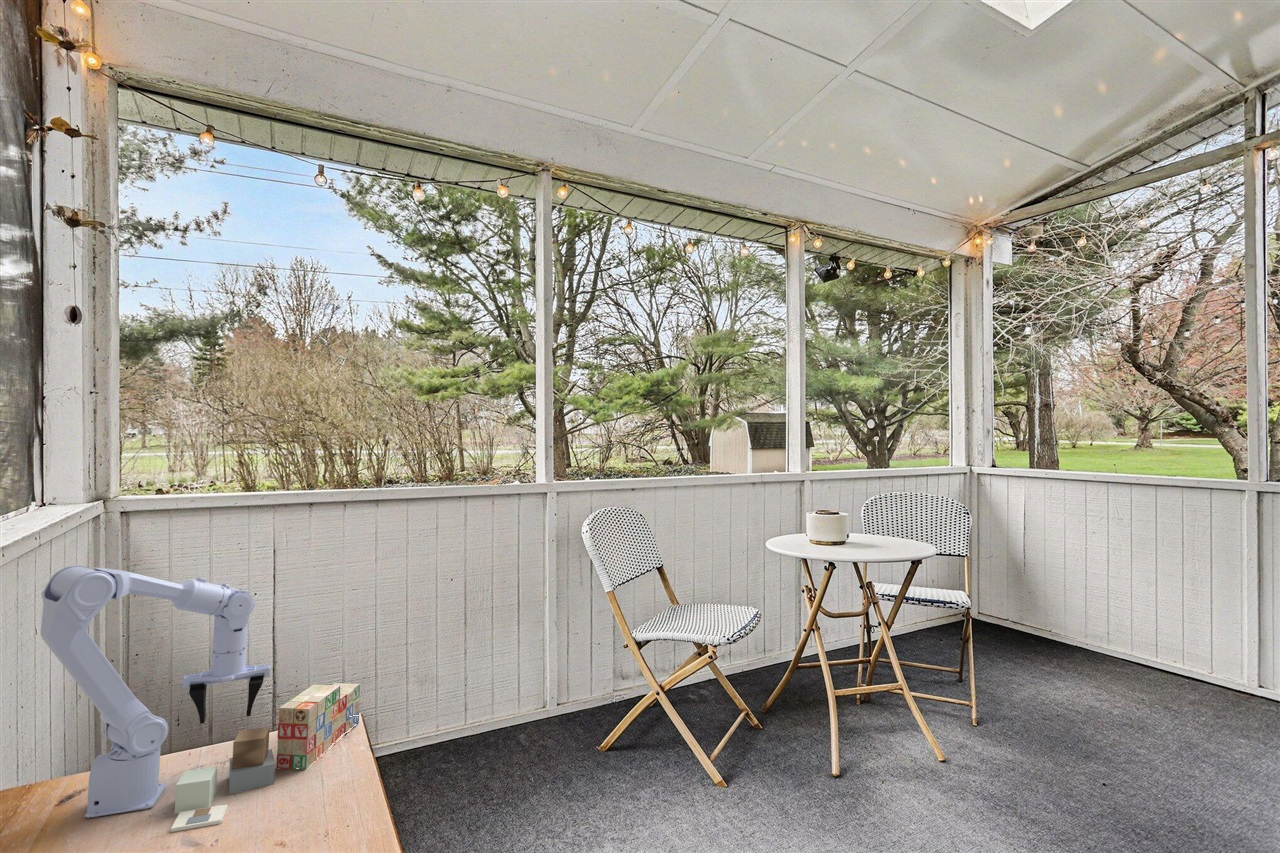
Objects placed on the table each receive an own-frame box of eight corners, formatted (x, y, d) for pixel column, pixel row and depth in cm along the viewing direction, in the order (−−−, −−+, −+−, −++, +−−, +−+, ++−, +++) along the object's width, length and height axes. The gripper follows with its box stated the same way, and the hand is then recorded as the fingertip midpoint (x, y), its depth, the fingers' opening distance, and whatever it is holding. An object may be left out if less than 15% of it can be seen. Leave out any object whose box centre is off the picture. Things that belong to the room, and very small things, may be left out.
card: (170, 832, 102) (170, 827, 102) (179, 815, 107) (180, 811, 107) (220, 823, 105) (220, 819, 105) (227, 807, 110) (227, 803, 110)
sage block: (174, 814, 108) (176, 784, 108) (183, 799, 112) (184, 770, 112) (208, 808, 109) (210, 779, 110) (215, 794, 114) (217, 766, 114)
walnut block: (232, 769, 116) (233, 742, 116) (238, 756, 120) (240, 730, 120) (262, 765, 117) (264, 738, 118) (268, 752, 122) (269, 727, 122)
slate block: (229, 796, 114) (230, 773, 114) (228, 779, 120) (230, 757, 120) (273, 785, 118) (274, 763, 118) (271, 769, 124) (272, 748, 124)
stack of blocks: (333, 722, 145) (335, 669, 145) (359, 724, 144) (361, 670, 145) (275, 769, 123) (278, 706, 124) (306, 771, 123) (309, 708, 123)
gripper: (182, 660, 118) (178, 733, 117) (270, 650, 125) (267, 718, 124) (187, 649, 124) (183, 718, 123) (271, 640, 131) (268, 705, 130)
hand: (226, 717), depth 124 cm, fingers open, 7 cm apart
